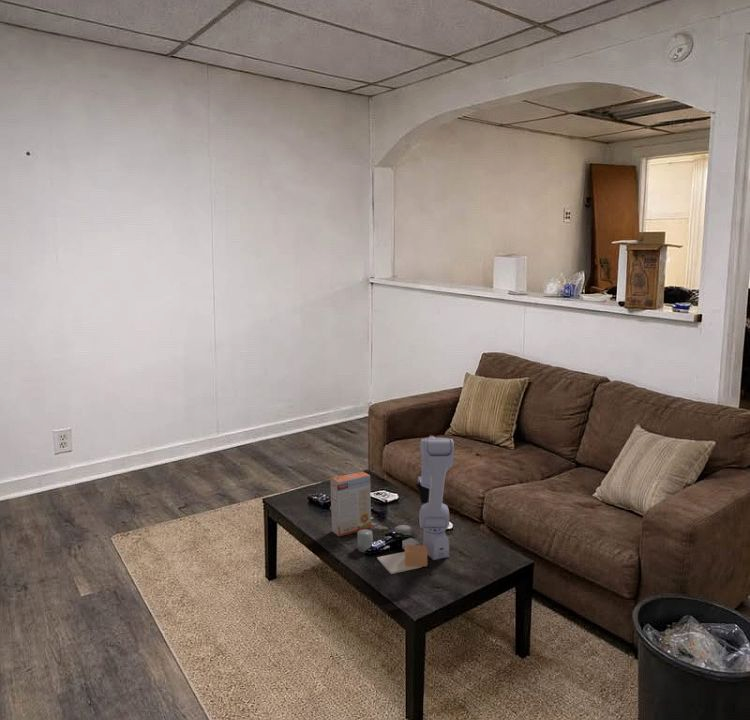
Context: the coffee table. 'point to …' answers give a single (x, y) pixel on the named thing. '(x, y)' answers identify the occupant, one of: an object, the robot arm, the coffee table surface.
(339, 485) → the cracker box
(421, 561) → the terracotta block
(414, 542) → the metal tin
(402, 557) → the ceramic tile
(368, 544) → the grey rounded capsule
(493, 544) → the coffee table surface
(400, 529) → the matte grey ellipsoid
